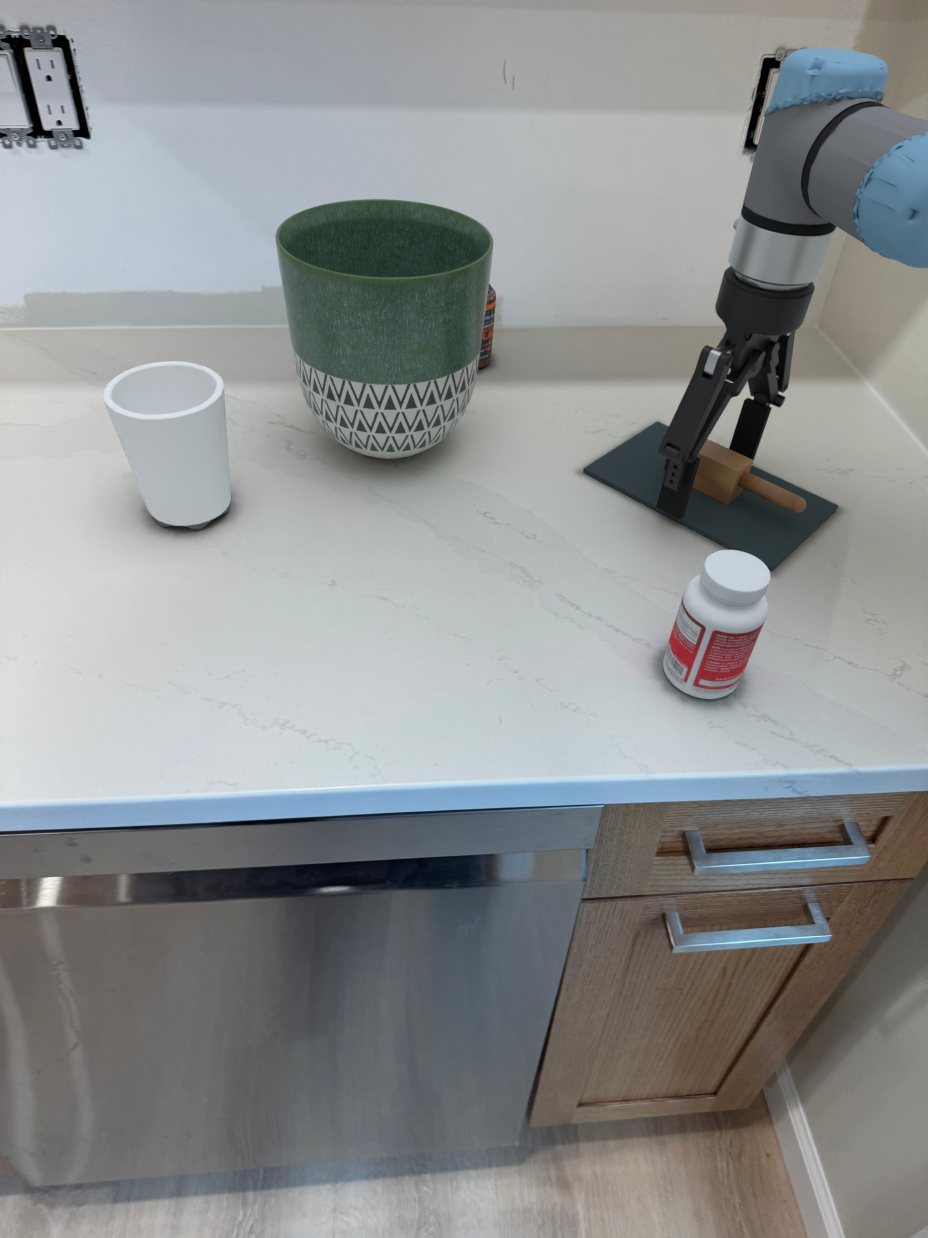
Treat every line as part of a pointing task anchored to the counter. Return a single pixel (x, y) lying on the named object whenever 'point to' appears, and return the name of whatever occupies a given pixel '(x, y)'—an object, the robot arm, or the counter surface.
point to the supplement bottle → (488, 329)
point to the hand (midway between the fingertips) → (706, 484)
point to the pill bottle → (717, 625)
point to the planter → (385, 318)
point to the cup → (174, 439)
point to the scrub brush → (737, 478)
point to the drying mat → (714, 502)
